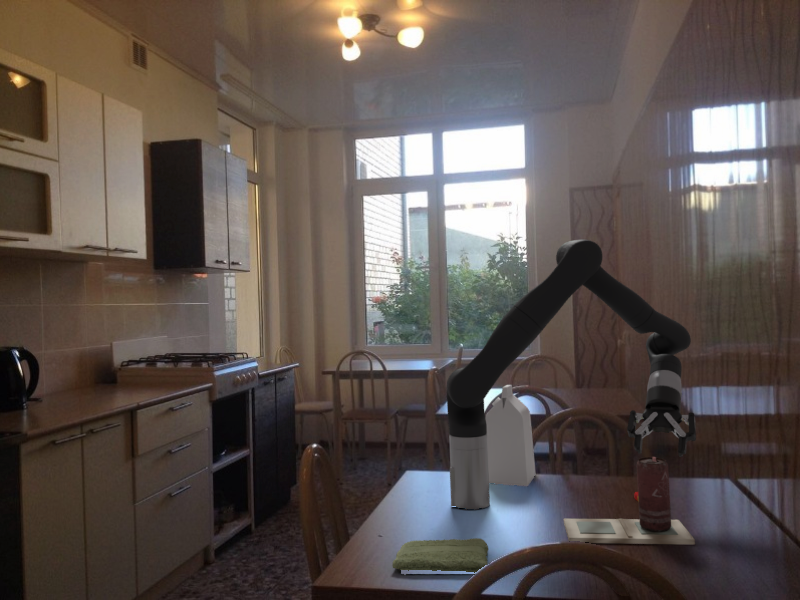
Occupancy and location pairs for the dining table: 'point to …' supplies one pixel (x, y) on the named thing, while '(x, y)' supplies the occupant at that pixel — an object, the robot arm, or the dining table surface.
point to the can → (653, 494)
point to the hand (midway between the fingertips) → (659, 453)
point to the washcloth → (442, 555)
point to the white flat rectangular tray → (624, 532)
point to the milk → (510, 441)
